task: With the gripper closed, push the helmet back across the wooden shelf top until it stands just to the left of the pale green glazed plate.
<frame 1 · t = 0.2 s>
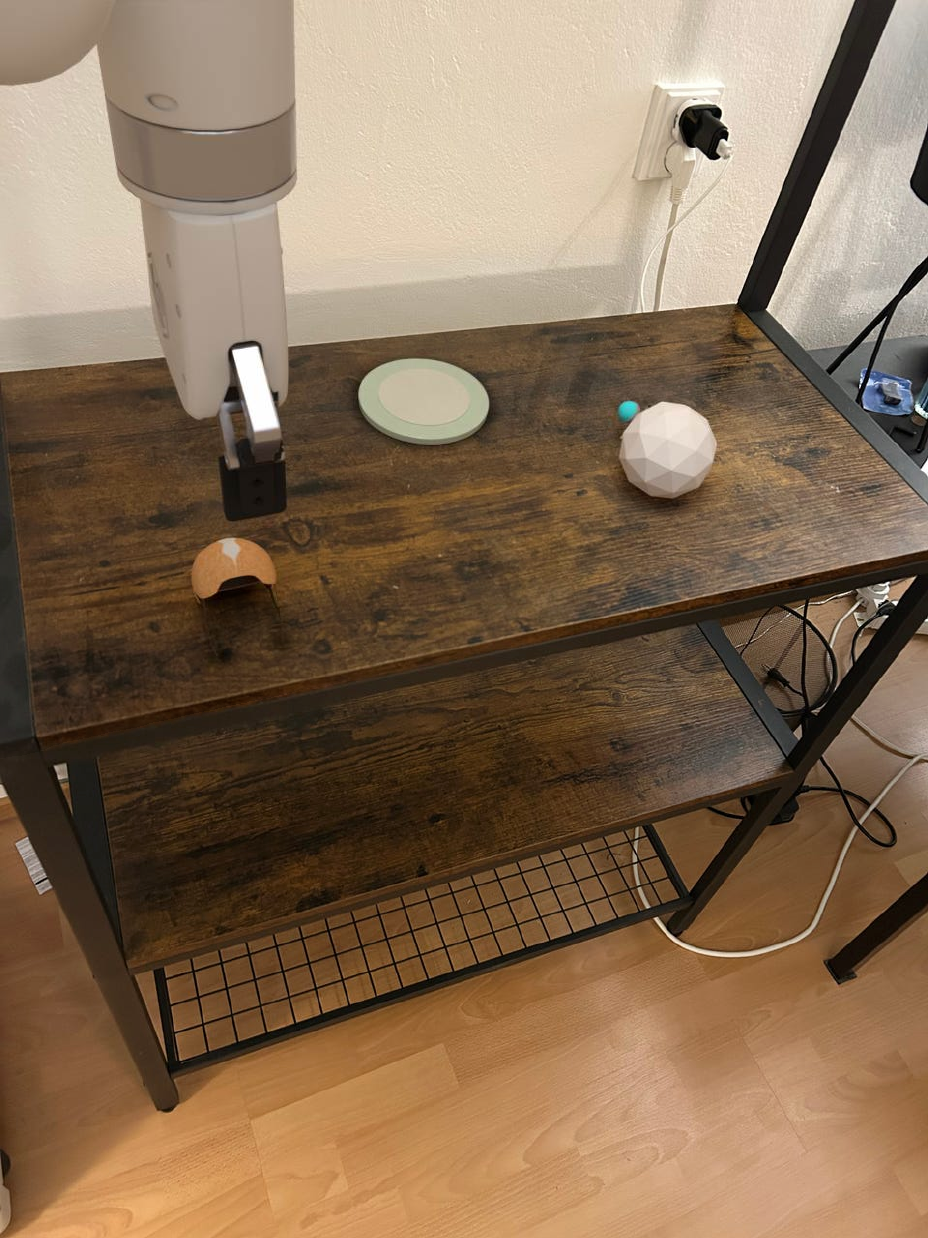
hand: (233, 454, 53), 19 cm above the table, tool pointing down, fingers open, 9 cm apart
plate: (423, 402, 89), on the table
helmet: (238, 615, 71), on the table
perfume bottle: (646, 472, 86), on the table
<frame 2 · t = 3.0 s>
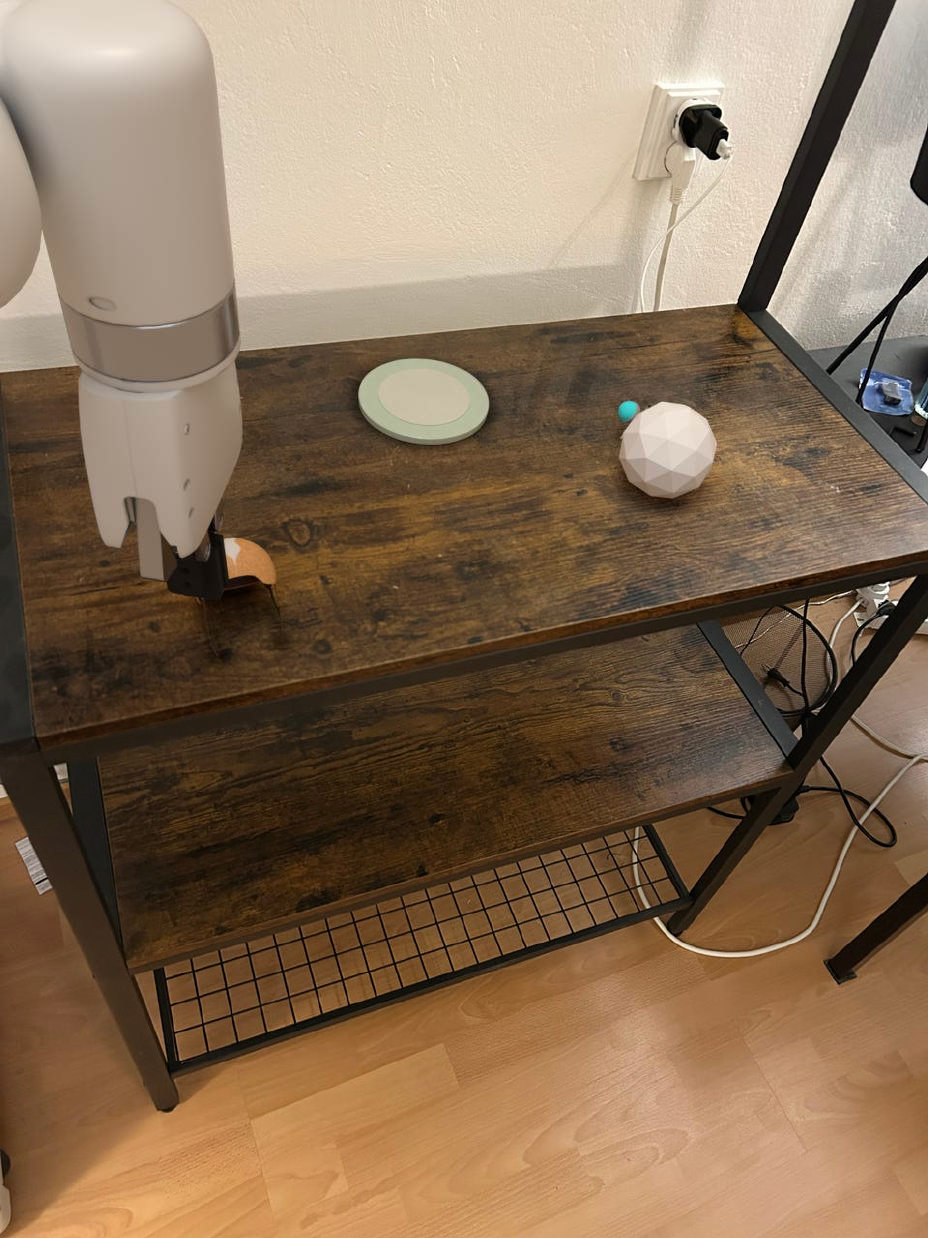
hand: (199, 586, 58), 11 cm above the table, tool pointing down, fingers closed
nothing on the table moved.
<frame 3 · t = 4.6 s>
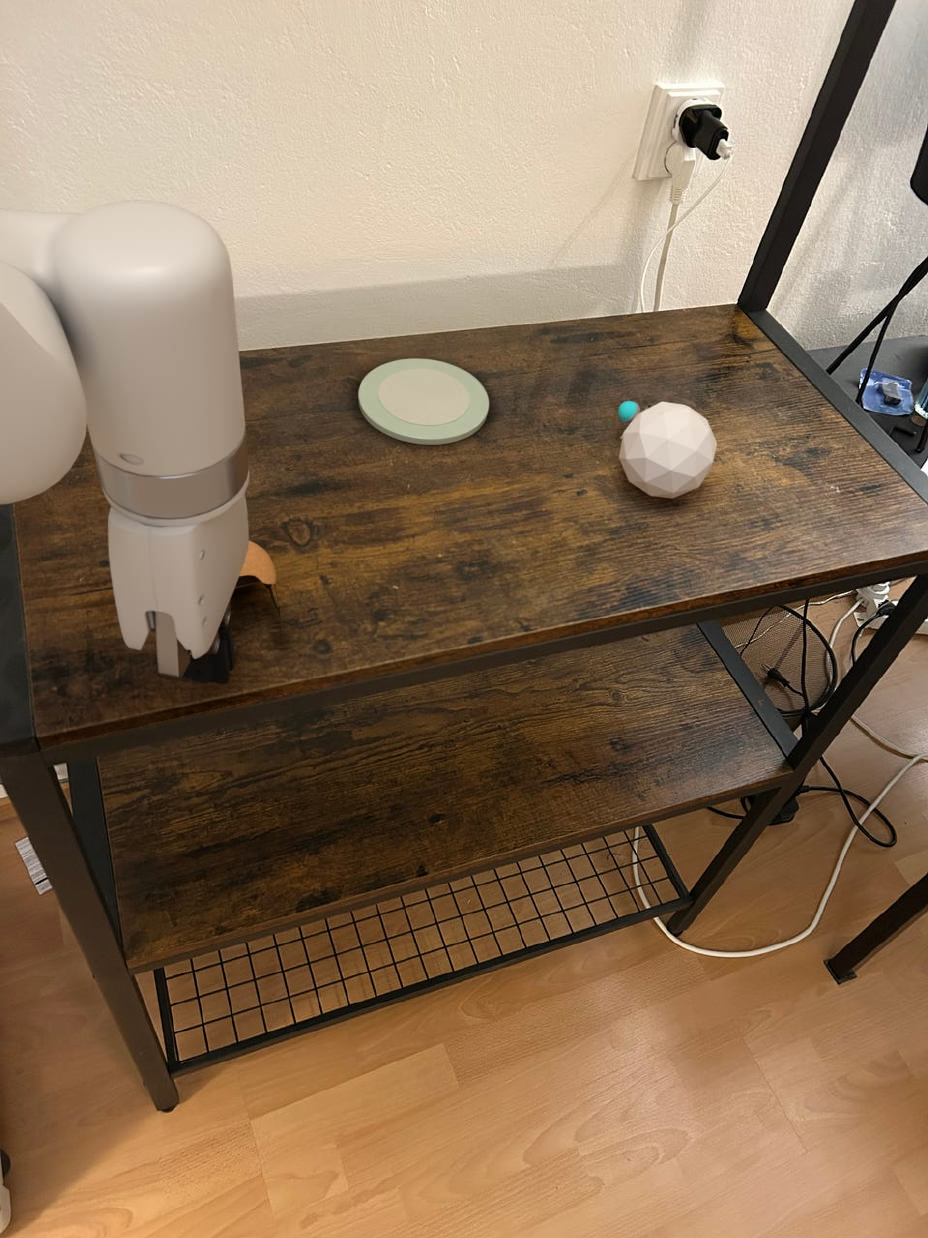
hand: (208, 671, 64), 3 cm above the table, tool pointing down, fingers closed
nothing on the table moved.
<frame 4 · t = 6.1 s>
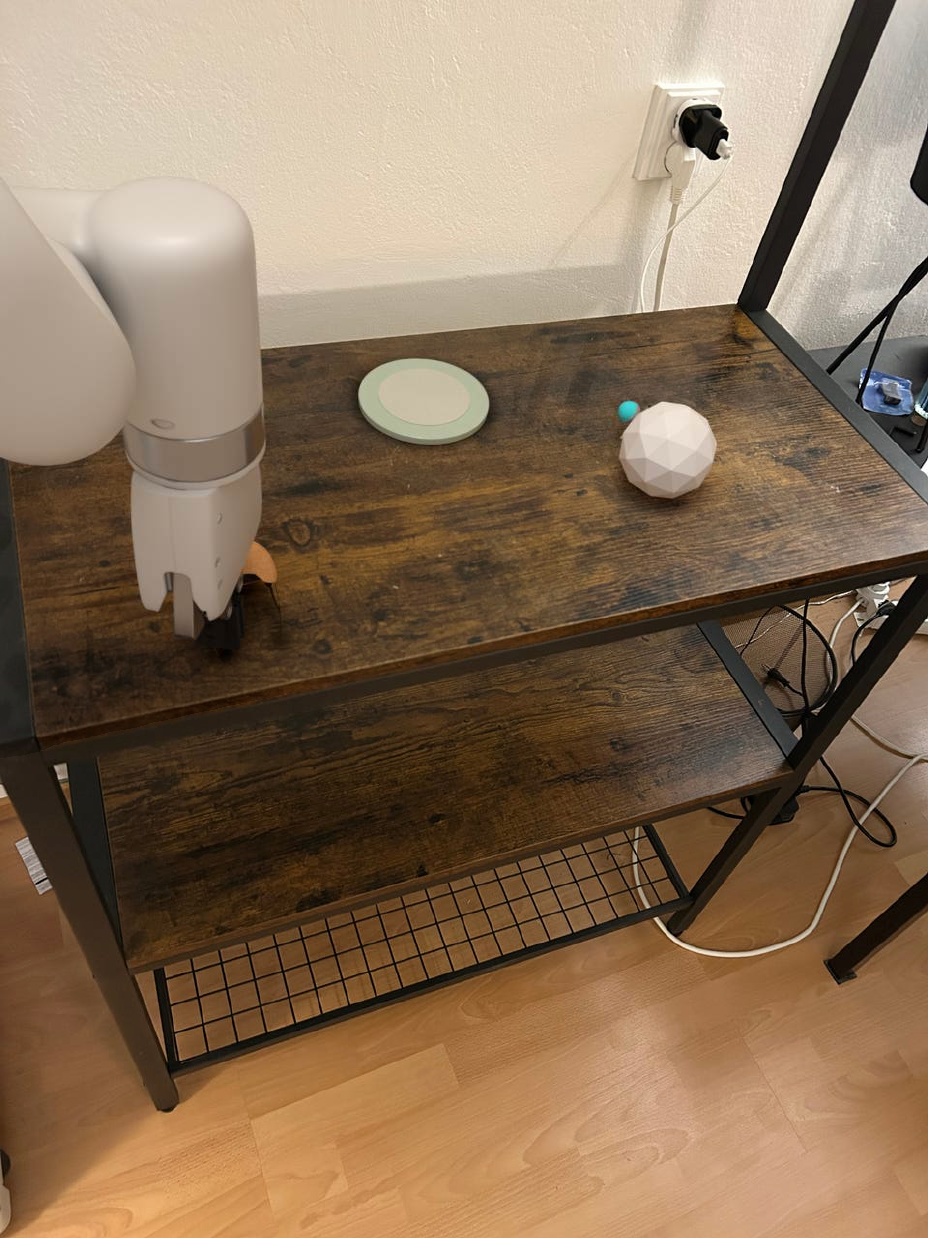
hand: (220, 638, 66), 2 cm above the table, tool pointing down, fingers closed
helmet: (239, 613, 71), on the table, touching gripper
everything else where it was.
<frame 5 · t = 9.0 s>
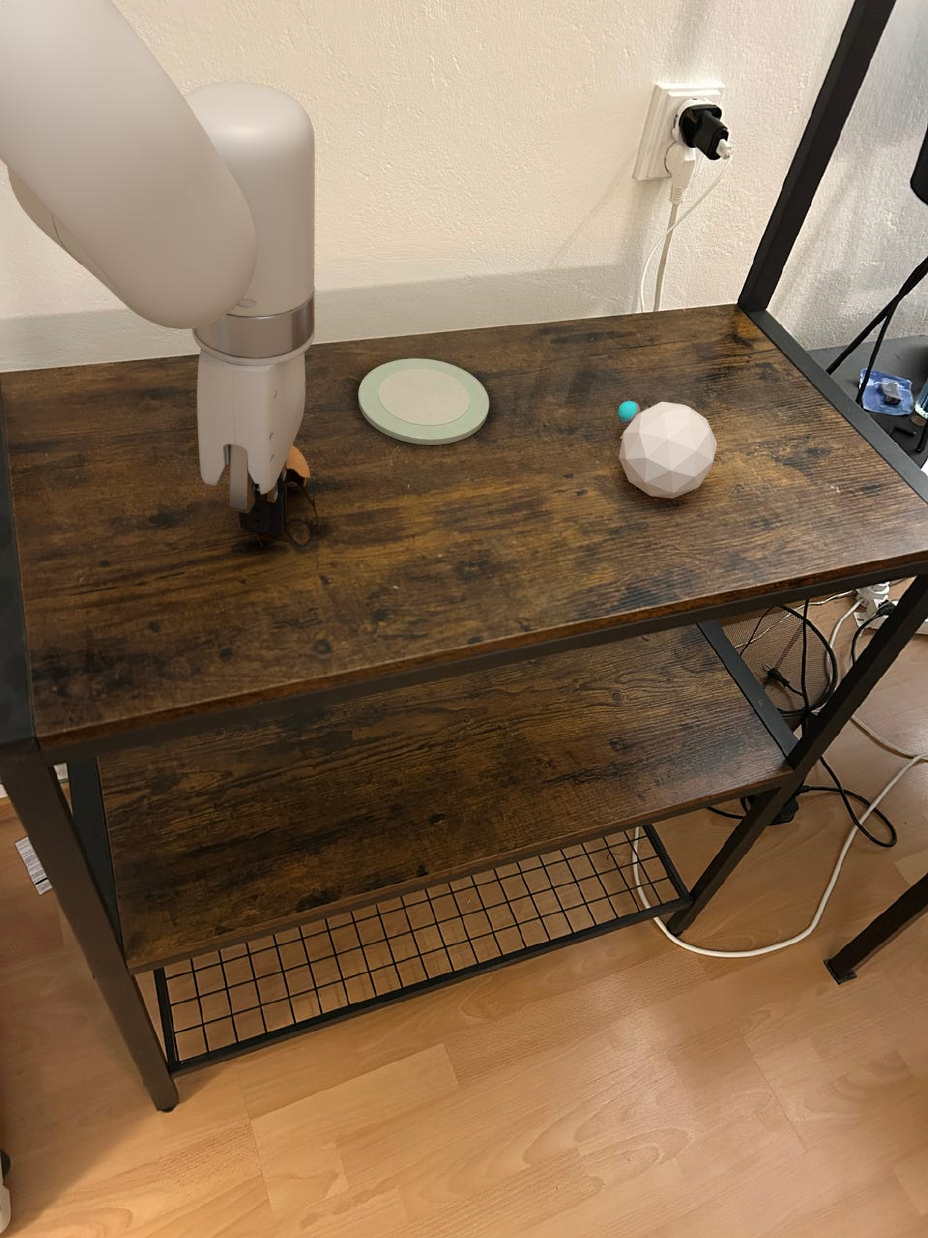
hand: (264, 525, 73), 2 cm above the table, tool pointing down, fingers closed
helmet: (275, 512, 78), on the table, touching gripper
everything else where it was.
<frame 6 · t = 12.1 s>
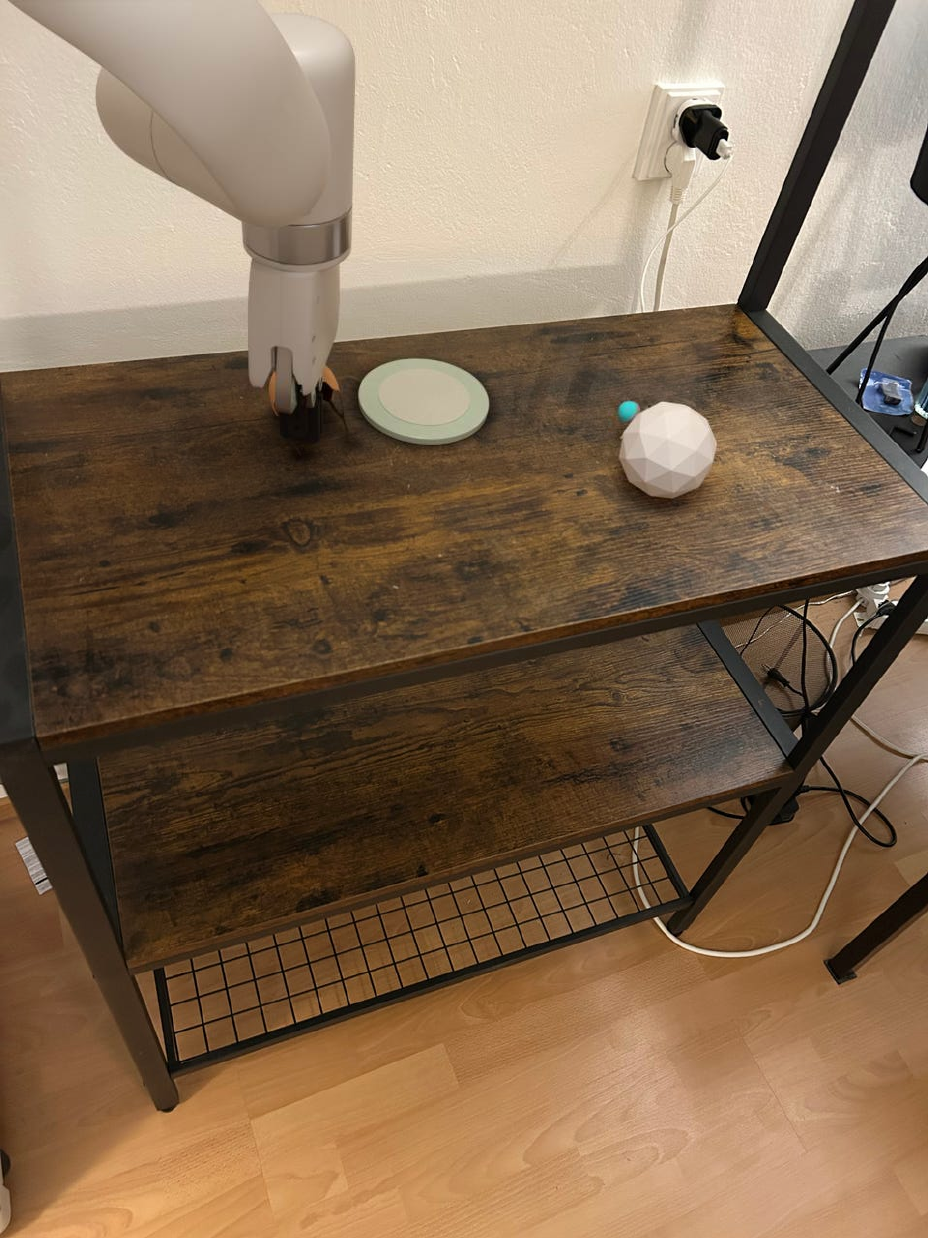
hand: (301, 434, 81), 2 cm above the table, tool pointing down, fingers closed
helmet: (307, 426, 85), on the table, touching gripper
everything else where it was.
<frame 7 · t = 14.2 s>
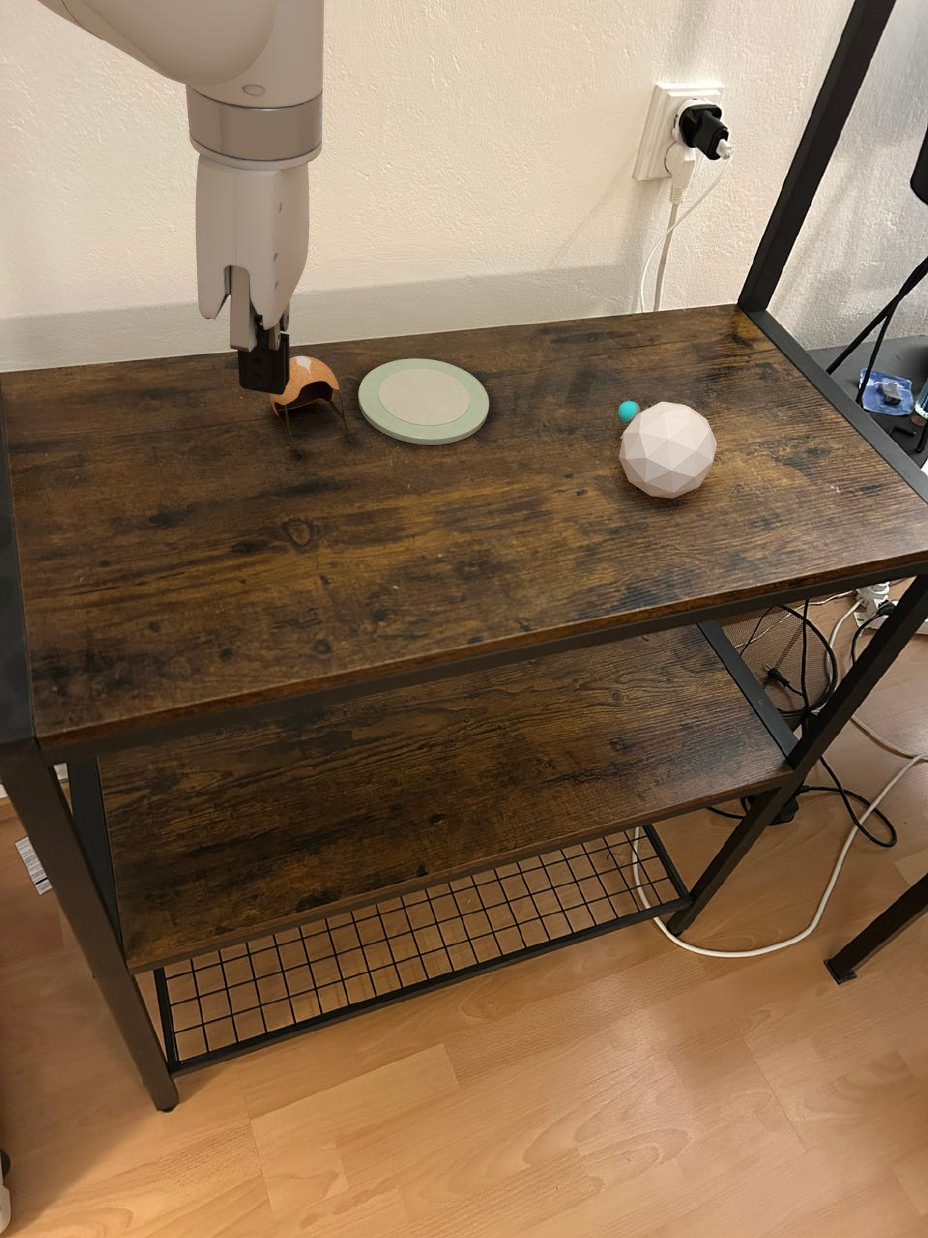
hand: (264, 384, 69), 12 cm above the table, tool pointing down, fingers closed
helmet: (307, 426, 85), on the table
everything else where it was.
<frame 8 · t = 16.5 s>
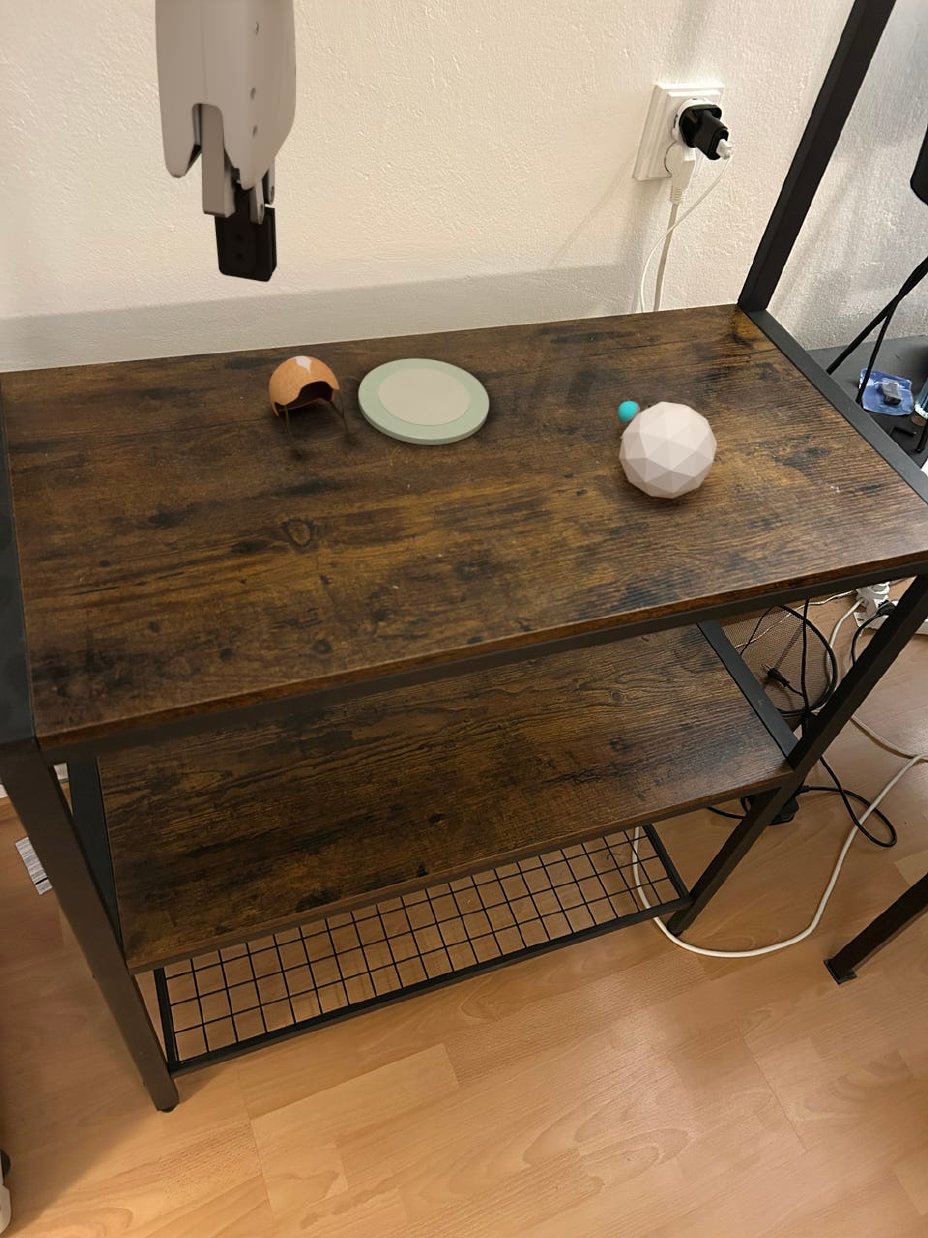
hand: (248, 271, 60), 22 cm above the table, tool pointing down, fingers closed
nothing on the table moved.
at the end: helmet inside the target area on the table beside the plate (0.5 cm from its centre), on the table; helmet tilted 0° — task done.
